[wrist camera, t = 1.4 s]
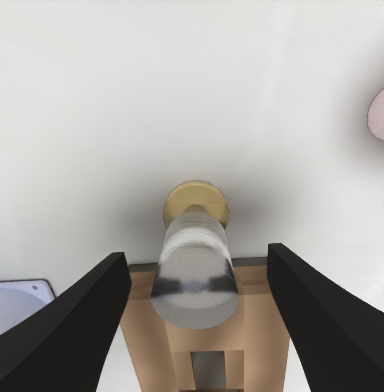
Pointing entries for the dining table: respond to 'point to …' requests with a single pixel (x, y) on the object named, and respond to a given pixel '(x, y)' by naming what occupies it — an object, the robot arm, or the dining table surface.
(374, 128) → the smoothie
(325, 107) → the dining table surface
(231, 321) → the keyhole board
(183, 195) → the peg
